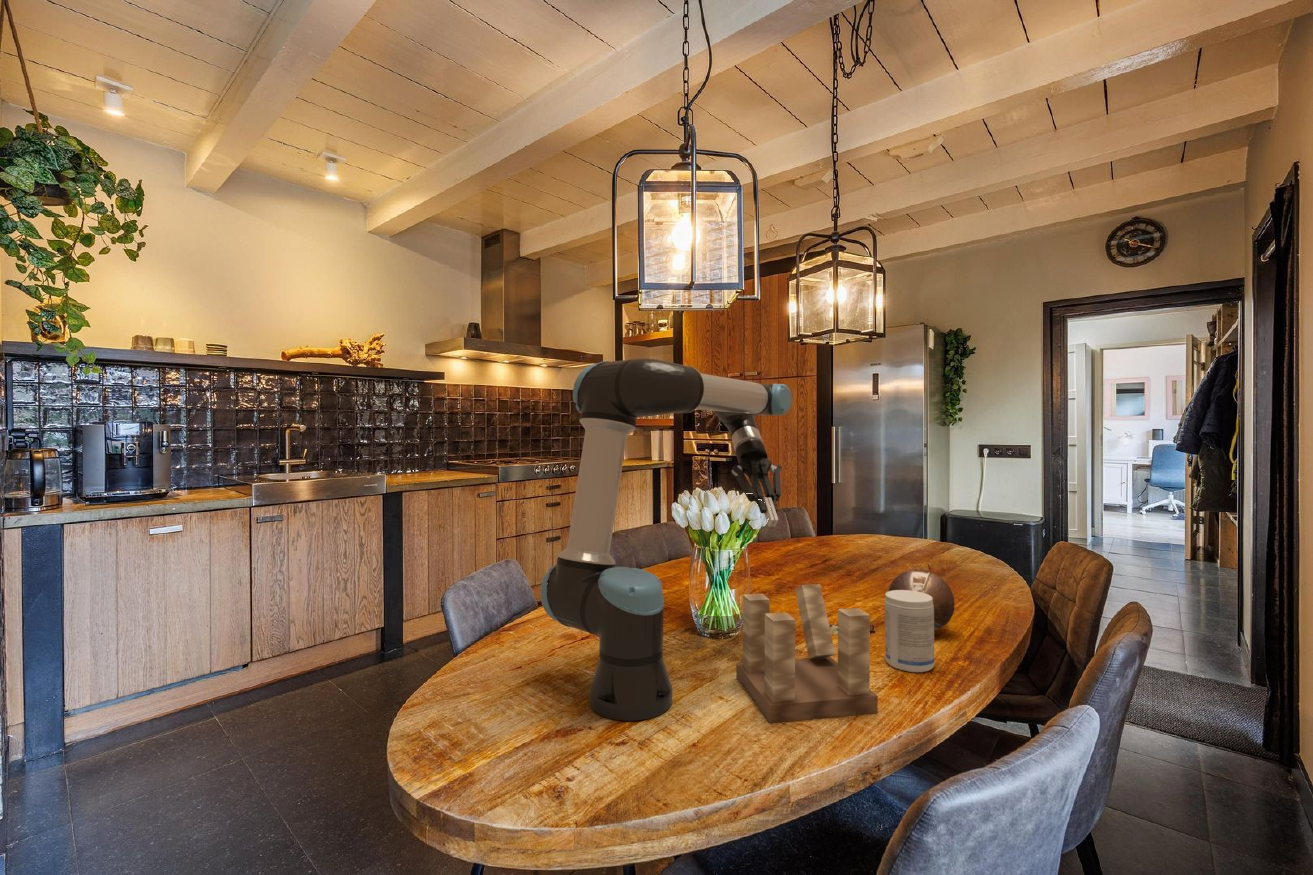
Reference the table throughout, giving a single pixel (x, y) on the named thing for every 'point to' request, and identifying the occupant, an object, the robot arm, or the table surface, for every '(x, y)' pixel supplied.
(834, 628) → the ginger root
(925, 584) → the brown metallic ball
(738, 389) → the robot arm
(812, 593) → the hinged leg
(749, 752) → the table surface
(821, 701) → the stool seat
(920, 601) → the supplement tub
